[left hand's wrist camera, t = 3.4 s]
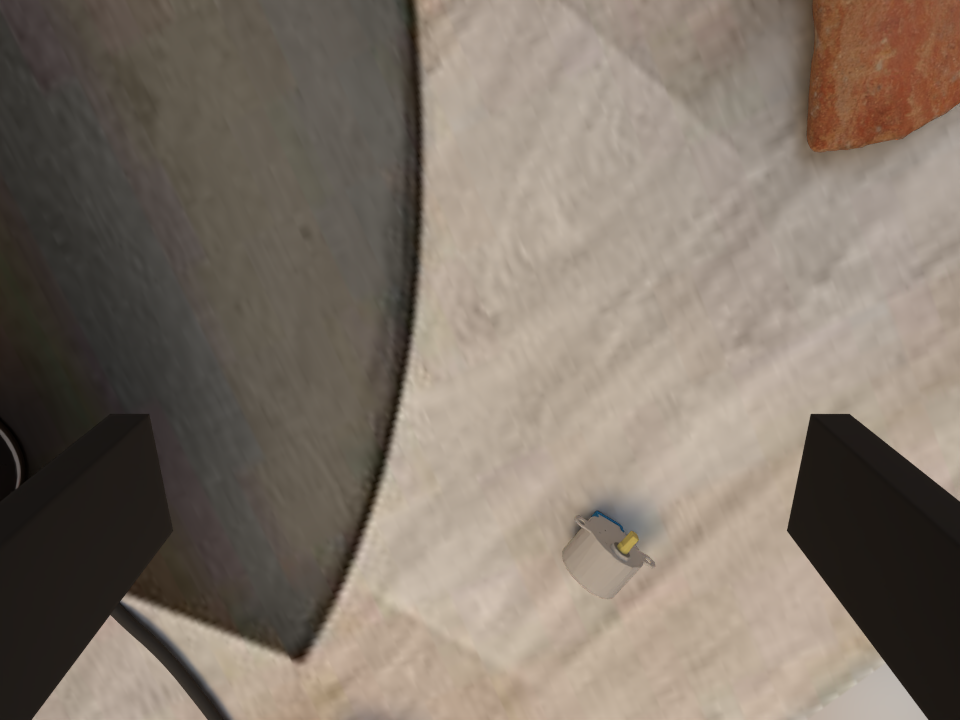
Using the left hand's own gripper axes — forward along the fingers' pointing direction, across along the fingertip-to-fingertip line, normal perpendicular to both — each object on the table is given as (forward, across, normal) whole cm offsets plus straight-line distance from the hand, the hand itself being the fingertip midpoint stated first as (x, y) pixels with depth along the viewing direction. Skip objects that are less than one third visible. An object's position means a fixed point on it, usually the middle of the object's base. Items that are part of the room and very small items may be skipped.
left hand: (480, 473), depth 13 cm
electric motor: (+28, +9, -21) cm, 36 cm away
